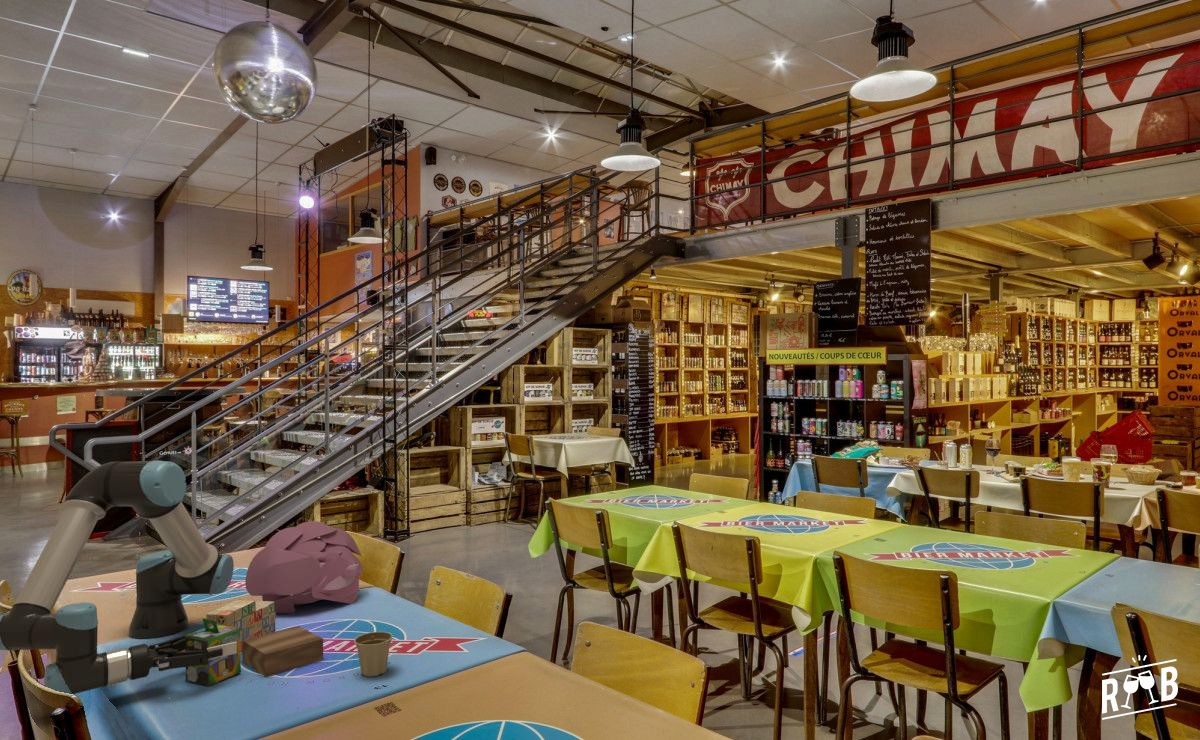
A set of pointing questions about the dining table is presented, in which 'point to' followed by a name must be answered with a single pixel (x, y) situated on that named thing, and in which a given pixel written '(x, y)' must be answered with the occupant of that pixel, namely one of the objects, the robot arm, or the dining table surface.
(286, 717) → the dining table surface
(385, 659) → the flower pot
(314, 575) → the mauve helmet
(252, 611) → the stack of blocks
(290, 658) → the walnut base block
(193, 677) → the chalk box
